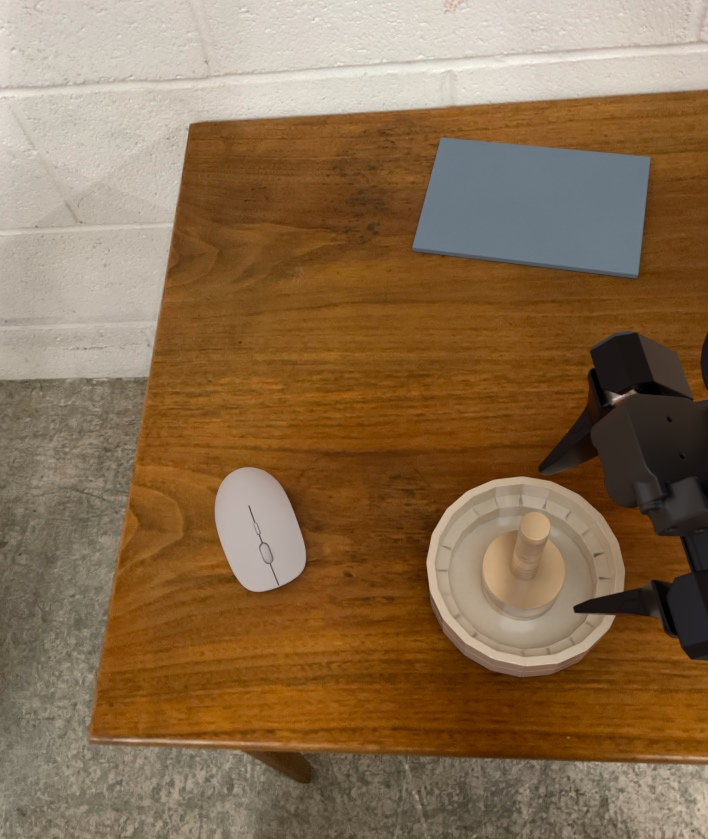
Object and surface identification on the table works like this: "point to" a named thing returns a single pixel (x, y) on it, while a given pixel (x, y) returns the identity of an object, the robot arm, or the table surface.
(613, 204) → the mat
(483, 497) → the bowl
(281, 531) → the computer mouse
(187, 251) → the table surface
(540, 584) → the wooden stamp
